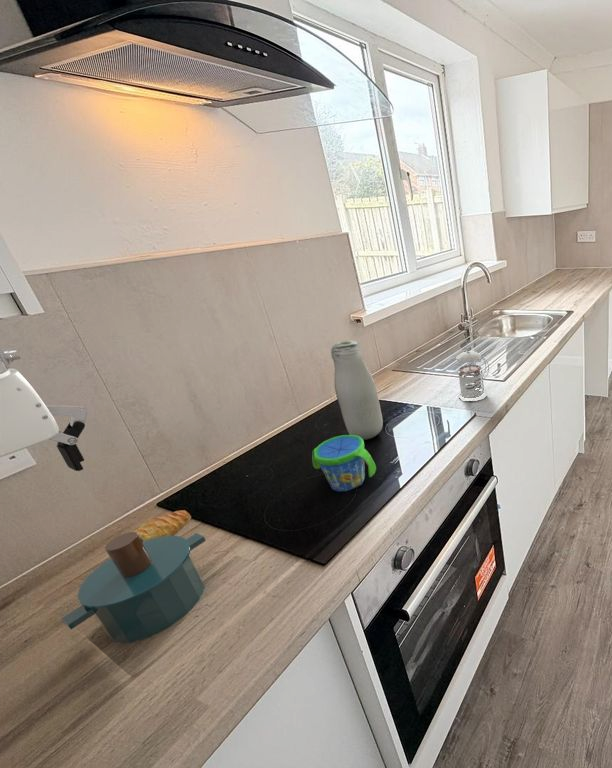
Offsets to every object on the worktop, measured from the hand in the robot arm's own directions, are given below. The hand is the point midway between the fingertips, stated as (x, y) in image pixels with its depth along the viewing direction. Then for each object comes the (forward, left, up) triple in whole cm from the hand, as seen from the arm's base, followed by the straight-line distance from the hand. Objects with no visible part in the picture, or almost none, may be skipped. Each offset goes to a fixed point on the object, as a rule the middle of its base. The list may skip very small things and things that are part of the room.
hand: (30, 487), depth 56 cm
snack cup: (+9, +41, -26) cm, 50 cm away
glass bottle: (-3, +59, -26) cm, 65 cm away
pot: (+5, +4, -26) cm, 27 cm away
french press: (+12, +93, -26) cm, 97 cm away
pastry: (-15, +14, -26) cm, 33 cm away
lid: (+5, +4, -18) cm, 19 cm away
